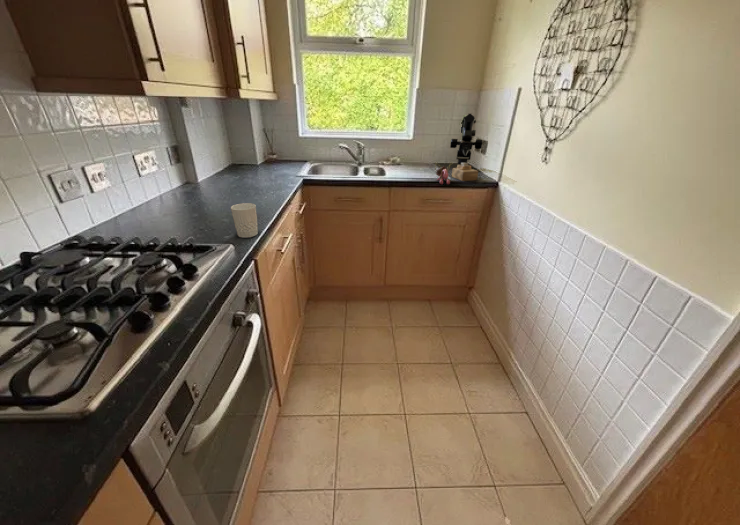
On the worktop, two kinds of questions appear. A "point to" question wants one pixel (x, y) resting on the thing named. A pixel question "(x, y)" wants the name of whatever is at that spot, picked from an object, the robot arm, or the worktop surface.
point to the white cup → (245, 219)
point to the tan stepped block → (464, 173)
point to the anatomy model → (443, 174)
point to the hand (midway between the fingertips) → (465, 155)
